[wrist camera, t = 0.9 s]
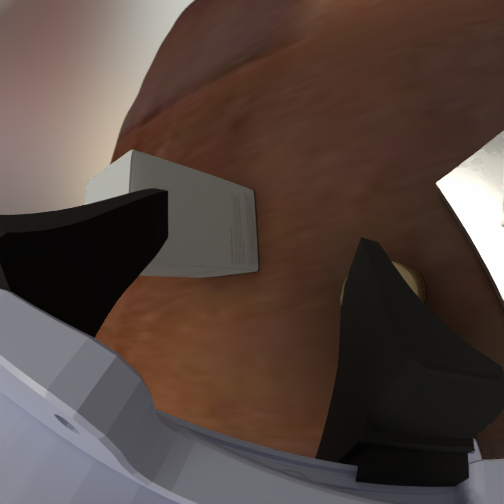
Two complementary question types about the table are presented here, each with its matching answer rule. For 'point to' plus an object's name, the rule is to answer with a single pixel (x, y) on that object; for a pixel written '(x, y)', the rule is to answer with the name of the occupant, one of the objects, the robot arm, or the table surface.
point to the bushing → (407, 280)
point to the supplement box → (188, 216)
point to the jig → (481, 206)
